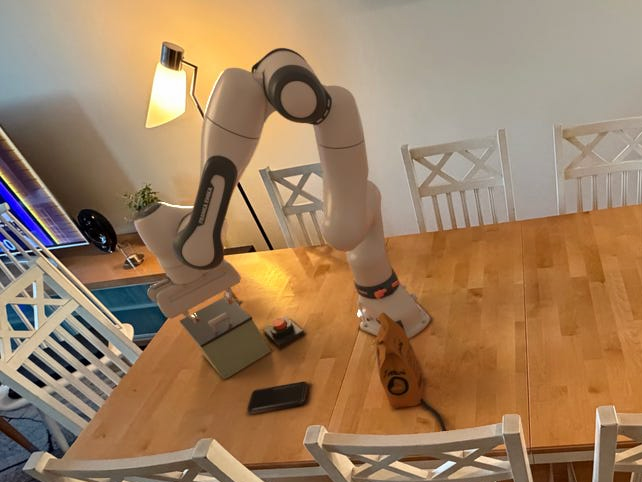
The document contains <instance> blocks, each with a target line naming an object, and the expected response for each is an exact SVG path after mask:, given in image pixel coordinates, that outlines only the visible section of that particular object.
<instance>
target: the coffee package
mask: <svg viewBox="0 0 642 482" xmlns="http://www.w3.org/2000/svg"><path fill="white" fill-rule="evenodd" d="M378 318H379V321H380V323H381V327H380V329H379V332H378V335H377V336H376V337H375V341H376V343H375V344H376V347H375V348H376V362H377V371H378V377H379V379H380V380H379V381H380V383H381V385H382V388H383V390H384V392H385V395H386V397H387V400H388V403H389V406H390V407H391V408H393V409H399V408H406V407H415V406H418V405H420V404H422V403H421V402H420V400H421V398H423V390H424V387H425V382H424V378H423V375H422V372H421V369H420V366H419V362H418V360H417V357H416V353H415V351H414V349H413V346H412V344H411V342H410V338H409V339H408V337H407V335H406V333H405V331H404V330H403V328H402V327H401V326H400V325H399V324H397V323H396V322H395V321H394V320H392V319H391V318H390V317H389V316H387V315H386V314H385V313H381V314H380V315H379V317H378Z"/></svg>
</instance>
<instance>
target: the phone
mask: <svg viewBox="0 0 642 482" xmlns="http://www.w3.org/2000/svg"><path fill="white" fill-rule="evenodd" d="M308 391H309V384H308V383H307V381H299V382H298V381H297V382H292V383H287V384H281V385H275V386H274V385H273V386H269V387H263V388H258V389H255V390H253V391H252V393H251V395H250V398H249V402H248V404H247V408H246V409H247V412H249V414H250V415H254V414H259V413H265V412H273V411H278V410H282V409H289V408H295V407H300V406H303V405H305V404H306V401H307V397H308V396H307V395H308Z"/></svg>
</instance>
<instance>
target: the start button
mask: <svg viewBox="0 0 642 482" xmlns="http://www.w3.org/2000/svg"><path fill="white" fill-rule="evenodd" d="M272 324H273V327H274V328H275V330H282V329H283V328H285V327H286V325H287V324H286V322H285V320H284V319H283V318H277V319H275V320H274V321H272Z"/></svg>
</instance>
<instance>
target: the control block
mask: <svg viewBox="0 0 642 482" xmlns="http://www.w3.org/2000/svg"><path fill="white" fill-rule="evenodd" d="M282 319H284V320H285V322H286V324H287V325H286V327H285V328H283V329H282V330H275V328H274V327H273V323H271V324H270V325H269V326H267V327H264V328H263V329H262V331H263V333H264V334H265V335H266V336H267V337H268V338H269V339H270V340H271V341H272V342H273V343H274V344H275V345H276V346H278V347H279V349H280V350H283V349H284V348H285V347H287V346H288V345H291V344H292V343H294V342H295V341H297V340H299V339H300V338H302V337H303V336H305V333H304V330H303V329H301V328H300V327H299V326H298V325H297V324H295V323H294V322H293V321H292V320H291V319H290V318H288V317H287V316H284V317H282Z"/></svg>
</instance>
